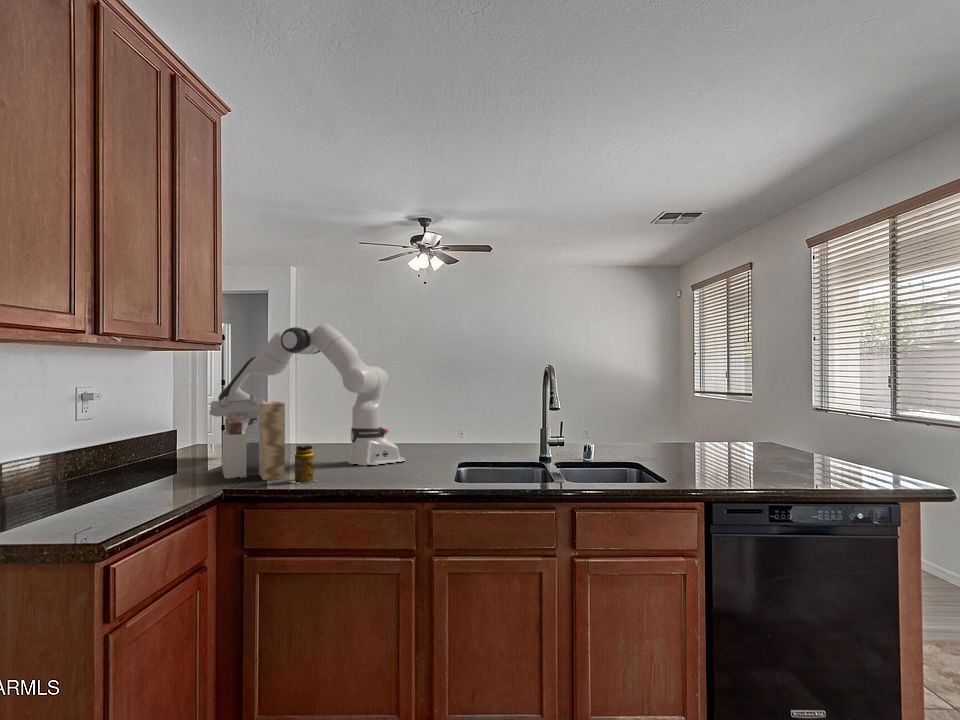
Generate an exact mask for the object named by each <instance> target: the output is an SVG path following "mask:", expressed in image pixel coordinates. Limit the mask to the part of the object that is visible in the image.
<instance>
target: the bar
mask: <svg viewBox="0 0 960 720" xmlns="http://www.w3.org/2000/svg"><path fill="white" fill-rule="evenodd" d="M226 430H227V432H228V433H229V435H235V434H242V422H240V421H239V420H238V419H237V418H235V419H226ZM226 430H225V431H226Z"/></svg>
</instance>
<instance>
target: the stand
mask: <svg viewBox="0 0 960 720" xmlns="http://www.w3.org/2000/svg"><path fill="white" fill-rule="evenodd" d="M285 412H286V403H284V402H281V401H265V402H259V419H258V420H259V421H258V428H259V429H258V475H259V476H261V477H260V478H261V479H263V480H266V481H274V480H273V479H279V480H285V479H286V478H285V474H286V469H285V468H286V465H285V464H286V457H285V456H286V449H285V448H286V417H285V416H286V415H285V414H286V413H285ZM284 478H285V479H284ZM263 480H262V481H263Z"/></svg>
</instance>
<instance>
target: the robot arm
mask: <svg viewBox="0 0 960 720" xmlns="http://www.w3.org/2000/svg"><path fill="white" fill-rule="evenodd" d="M319 353H322V354H323V355H324V357H325V358H327V360H328V361H330V363H331V364H332V365H333V366H334V368H336V369H337V371H338V373H339V374H340V376H341V378H342V384H343V387H344V388H345V389H346V390H347V391H348V392H351V393H353V394H357V397H356V400H355V402H354V405H353V407H352V413H351V414H352V415H351V416H352V417H351V418H352V419H351V422H352V426H351V430H350V441H351V448H350V454H349V459H348V462H347V463H348V464H349V463H350V464H349V465H353V464H358V465H357V466H367V465H377V466H379V465H378V464H385V463H394V464H396V463H395V462H402V461H405V462H406V458H404V457H402V456H401V455H400V450H399V447H398V446H397V444H396V443H394V442H393V441H391V440H390V439H389V438H388V437H386V435H387V434H389V429H388V428H383V427H381V406H382V402H383V395H384V391H385V389H386V387H387V385H388V383H389V375H388V373H387V371H386V370H385V369H383V368H381V367H379V366H377V365H367V364H366V363H364V361H363V360H362V359H361V357H360V356H359V350H358V349H357V348H356V347H355V346H354V345H353V344H352V343H351V342H350V341H349V340H348V338H346V337H345V336H344V335H343V334H342V333H341V332H340V331H339V330H338V329H336V328H335V327H334V326H332V325H330V324H329V323H322V324H320V325H318V326H316V328H309V327H297V326H296V327H295V326H294V327H289V328H287V329H285V330H283V331H282V330H281V331H278V332H277V331H276V333H274V335H273V336H272V337H271V338H270V339H269V341H268V343H267V344H266V345H265V348H264V350H262V352H261V353H260V354H259V355H258V356H253V357H251V358H249V360H248V361H246V363H245V364H244V365H243V366H242V367H241V368H240V370H239V371H238V372H237V373H236V374H235V376H234V377H233V378H232V380H231V381H230V382H229V383H228V385H226V387H225V388H224V389H223V390H222V391H221V392H220V394H219V396H218V399H217V400H213V401H211V402H210V410H209V415H210V416H213V417H217V418H218V417H225V420H224V431H227V430H226V419H235V418H237V419H238V420H239V421H240V422H242V430H243V431H244V432H245V433H246V430H247V429H248V427H249V426H252V425H253V424H255V423H256V422H258V420H259V402H266V401H265V399H264V398H256V397H254V396H255V395H253V394H252V395H251V394H249V393H247V392H245V391H243V390H242V389H241V386H242V385H243V384H244V383H245V382H246V380H247V379H248V377H250V375H252V374H259V375H265V376H276V375H279V374H281V373H282V372H283V371H284V370H285V368H286V367H287V365H288V364H289V361H290V360H291V358H292V357H293V355H294V354H299V355H315V354H319ZM385 465H386V464H385Z"/></svg>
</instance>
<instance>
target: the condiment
mask: <svg viewBox="0 0 960 720" xmlns="http://www.w3.org/2000/svg"><path fill="white" fill-rule="evenodd" d="M295 449H296V450H295V452H296V453H295V455H294V479H289V480H286V481H292V480H295V481H296V482H302V483H297V484H296V485H300V484H306V483H305V482H309V483H312V482H311V481H313V480H315V481H316V482H318V480H316V479H314V458H315V457H314V453H313V445H311V444H301V445H297V446H296V448H295Z"/></svg>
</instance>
